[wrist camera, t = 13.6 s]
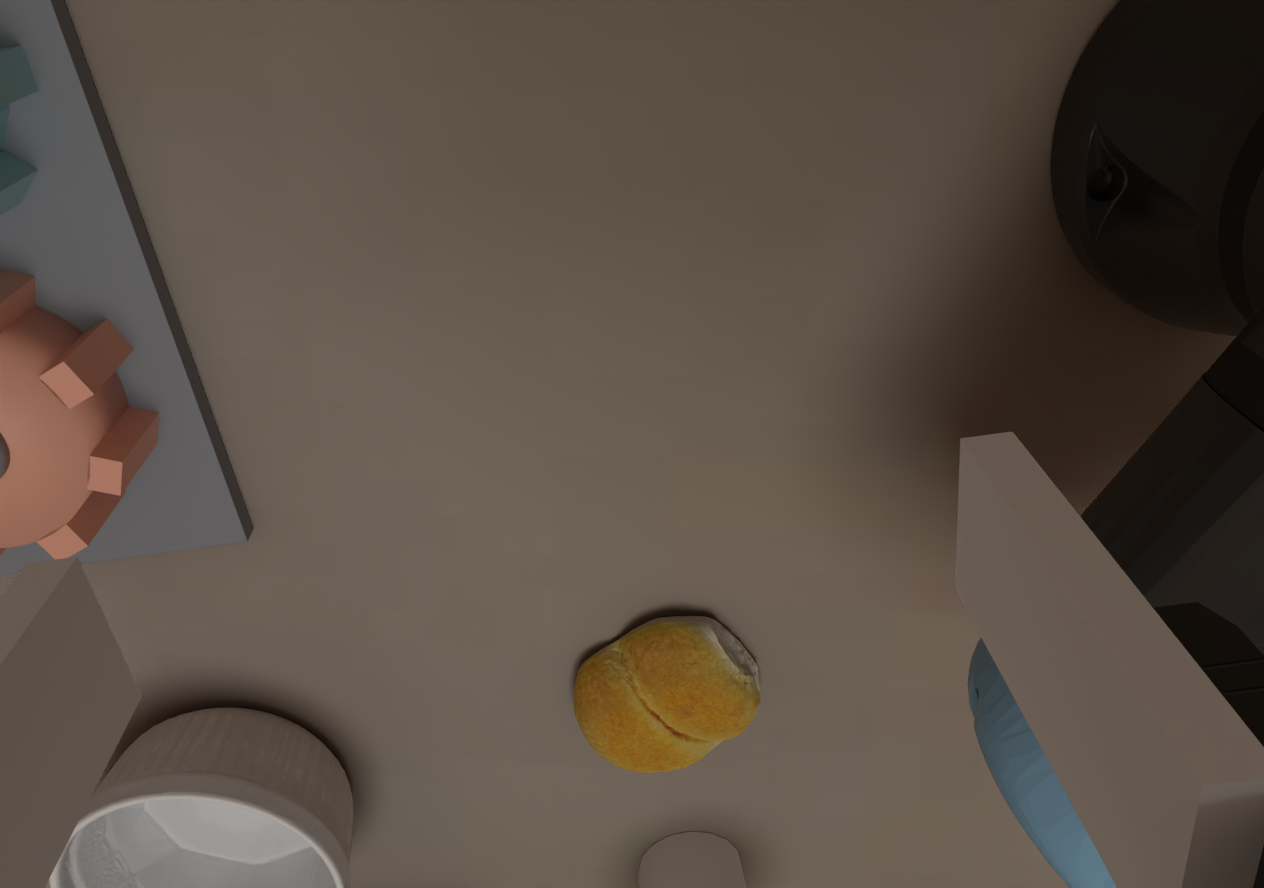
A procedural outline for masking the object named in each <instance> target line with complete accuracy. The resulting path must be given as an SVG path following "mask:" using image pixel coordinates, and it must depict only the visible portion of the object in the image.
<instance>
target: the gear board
mask: <svg viewBox="0 0 1264 888" xmlns="http://www.w3.org/2000/svg"><path fill="white" fill-rule="evenodd" d="M20 45H22V48H23V50H24V53H25V56H26V58H27V61H28V63H29V66H30V69H31V71H32V74H33V76H34V79H35V82H36V84H37V87H38V89H39V91H38V92H35V93H33V94H30V95H28V96H26V97H23V98H21V99H19V100H16V101H14V102H12V103H9V104H8V105H9V106H10V109H9V115H8V122H7V129H6V136H5V143H4V149H3V150H7V151H8V152H10V153H11V154H13V155H15V156H16V157H18V158H20V159H21V160H23V161H24V162H26V163H28V164H29V165H31V166H32V167H34V168H36V169H37V170H38V171H37V173H36V175H35V177H34V179H33V181H32V183H31V185H30V187H29V188H28V190H27V192H26V194H25V196H24V198H23V200H22V202H21V203H20V204H18V205H17V206H15V207H14V208H12V209H10V210H9V211H7V212H5V213H4V214H2V215H1V216H0V575H1V574H8V573H16V572H20V571H21V569H22V568H23V567H24V565H25V564H26V563H33V562H41V561H48V560H56V559H63V558H71V557H78V559H79V562H80V564H83V563H90V562H98V561H105V560H113V559H120V558H128V557H135V556H143V555H150V554H158V553H165V552H173V551H180V550H187V549H195V548H202V547H210V546H217V545H225V544H232V543H240V542H247V541H248V539H249V537H250V535H251V533H252V531H253V526H252V523H251V520H250V518H249V515H248V512H247V509H246V506H245V504H244V501H243V498H242V495H241V492H240V490H239V487H238V484H237V481H236V479H235V476H234V473H233V470H232V467H231V465H230V462H229V459H228V456H227V453H226V451H225V448H224V445H223V442H222V439H221V437H220V434H219V431H218V428H217V426H216V423H215V420H214V417H213V414H212V412H211V409H210V406H209V403H208V400H207V398H206V395H205V392H204V389H203V386H202V384H201V381H200V378H199V375H198V372H197V370H196V367H195V364H194V361H193V359H192V356H191V353H190V350H189V347H188V345H187V342H186V339H185V336H184V333H183V331H182V328H181V325H180V322H179V319H178V317H177V314H176V311H175V308H174V306H173V303H172V300H171V297H170V294H169V292H168V289H167V286H166V283H165V280H164V278H163V275H162V272H161V269H160V266H159V264H158V261H157V258H156V255H155V252H154V250H153V247H152V244H151V241H150V239H149V236H148V233H147V230H146V227H145V225H144V222H143V219H142V216H141V213H140V211H139V208H138V205H137V202H136V199H135V197H134V194H133V191H132V188H131V186H130V183H129V180H128V177H127V174H126V172H125V169H124V166H123V163H122V160H121V158H120V155H119V152H118V149H117V146H116V144H115V141H114V138H113V135H112V132H111V130H110V127H109V124H108V121H107V119H106V116H105V113H104V110H103V107H102V105H101V102H100V99H99V96H98V93H97V91H96V88H95V85H94V82H93V79H92V77H91V74H90V71H89V68H88V66H87V63H86V60H85V57H84V54H83V52H82V49H81V46H80V43H79V40H78V38H77V35H76V32H75V29H74V26H73V24H72V21H71V18H70V15H69V12H68V10H67V7H66V4H65V1H64V0H0V48H5V47H13V46H20Z"/></svg>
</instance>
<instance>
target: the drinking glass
mask: <svg viewBox="0 0 1264 888" xmlns="http://www.w3.org/2000/svg"><path fill="white" fill-rule="evenodd" d="M639 888H747V887H746V883H745V879H744V874H743V870H742V866H741V861H740V858H739V854H738V850H737V849H736V848H735V847H734V846H733V845H732V844H731V843H729V842H728V841H727V840H726V839H724V838H721V837H719V836H716V835H714V834H711V833H704V832H685V833H680V834H675V835H670V836H668V837H666V838H664V839H662V840H661V841H659V842H657V843H655V844H653V845H652V846H651V847H650V848H649V850H648V851H647V852H646V853H645V854H644V855H643V856H642V859H641V863H640V867H639Z"/></svg>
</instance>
